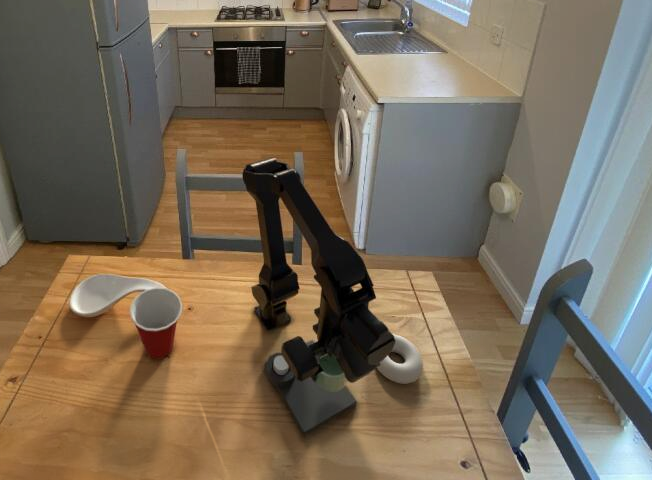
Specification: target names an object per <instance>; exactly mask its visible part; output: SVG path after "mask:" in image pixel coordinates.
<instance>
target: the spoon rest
mask: <svg viewBox="0 0 652 480" xmlns="http://www.w3.org/2000/svg"><path fill="white" fill-rule="evenodd" d="M156 287H157V288H167V287H166V286H165V285H163V284H162V283H160V282H158V281H155V280H152V279H148V278H143V277H132V276H131V277H130V276H124V275H119V274H113V273H112V274H111V273H99V274H95V275H92V276H89V277H87V278H85V279H84V280H82V281H80V283H78V284H77V286H75V288H74V289H73V291H72V292H71V294H70V297H69V303H68V304H69V308H70V310H71V311H72V312H73V313H74V314H76V315H77V316H80V317H84V318H93V317H98V316H101V315H103V314H105V313H107V312H109V311H110V310H111V309H113V308H114V307H115V306H116V305H117V304H118V303H119V302H121V301H122V300H123V299H125V298H126V297H128V296H130V295H131V294H134V293H138V292H139V293H142V292H144V291H145V290H148V289H152V288H156Z"/></svg>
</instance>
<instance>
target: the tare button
mask: <svg viewBox="0 0 652 480" xmlns="http://www.w3.org/2000/svg"><path fill="white" fill-rule="evenodd" d="M273 368H274V371H275V372H276V373H277V374H278V375H285V374H286V373H287V372H288V368H289V366H288V364H287V363H286V361H285V359H284V358H283V356H277V357H276V358H275V359H274V364H273Z"/></svg>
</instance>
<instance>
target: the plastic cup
mask: <svg viewBox="0 0 652 480" xmlns="http://www.w3.org/2000/svg"><path fill="white" fill-rule="evenodd" d="M182 310H183V302H182V300H181V297H180V296H179V295H178V294H177V293H176V292H175V291H173V290H171V289H170V288H167V287H166V288H157V287H156V288H152V289H148V290H145V291H144V292H139V293H138V294H137V296H135V298H134V299H133V300H132V301H131V305H130V308H129V314H130V319H131V321H132V322H133V323H134V325H135V328H136V330H137V332H138V335H139V338H140V341H141V343H142V345H143V347H144V349H145V352H146V353H147V354H148V356H149V357H150V358H151V359H155V360H160V359H163V358H166V357H167V356H168V355H170V353H171V351H172V349H173V348H174V347H173V346H174V341H175V336H176V331H177V330H176V329H177V323H178V320H179V318H180V317H181V315H182Z"/></svg>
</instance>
